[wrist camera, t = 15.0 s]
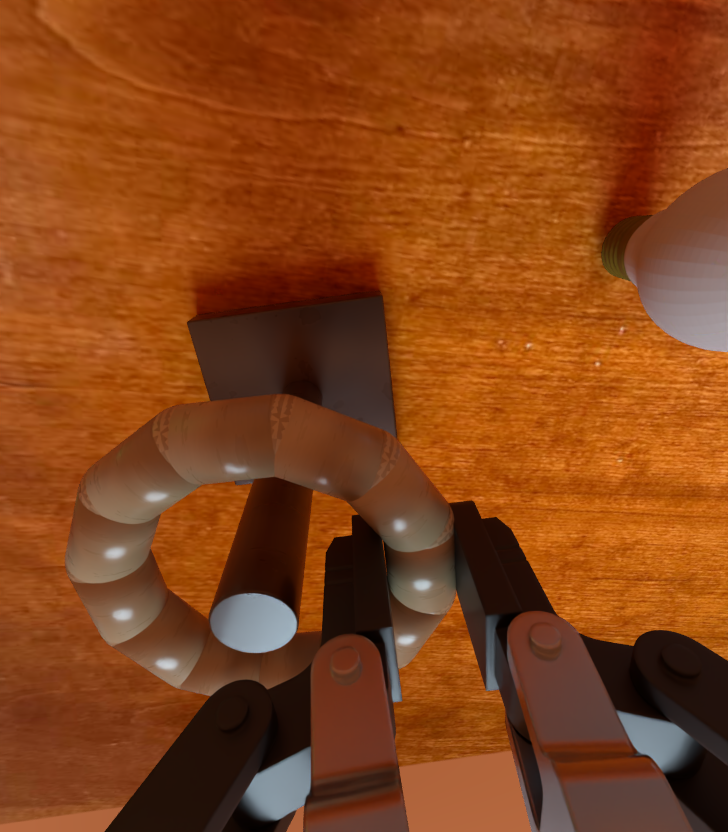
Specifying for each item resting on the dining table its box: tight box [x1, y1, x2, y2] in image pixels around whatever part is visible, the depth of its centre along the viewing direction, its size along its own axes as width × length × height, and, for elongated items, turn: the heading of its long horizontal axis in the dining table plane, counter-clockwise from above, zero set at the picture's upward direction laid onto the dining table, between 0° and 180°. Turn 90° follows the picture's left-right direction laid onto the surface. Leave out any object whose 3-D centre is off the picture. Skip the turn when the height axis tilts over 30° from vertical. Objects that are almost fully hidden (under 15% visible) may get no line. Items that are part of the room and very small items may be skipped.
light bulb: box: [601, 168, 728, 352], centre depth 16 cm, size 6×6×10 cm
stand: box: [187, 291, 398, 653], centre depth 16 cm, size 9×9×14 cm
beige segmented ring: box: [65, 394, 456, 696], centre depth 11 cm, size 10×10×2 cm
